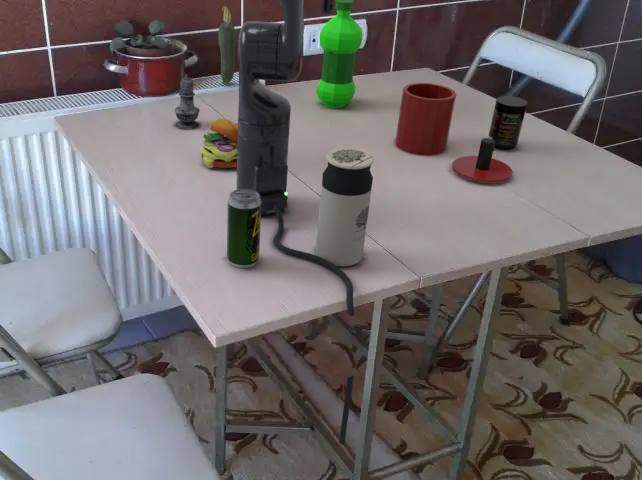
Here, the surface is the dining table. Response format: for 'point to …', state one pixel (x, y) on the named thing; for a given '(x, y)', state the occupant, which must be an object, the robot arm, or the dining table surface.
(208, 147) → the cheeseburger
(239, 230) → the beer can
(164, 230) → the dining table surface
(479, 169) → the lid
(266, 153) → the robot arm
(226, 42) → the vegetable
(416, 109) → the canister
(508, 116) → the supplement container
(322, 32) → the plastic bottle
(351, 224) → the travel mug
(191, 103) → the salt shaker
